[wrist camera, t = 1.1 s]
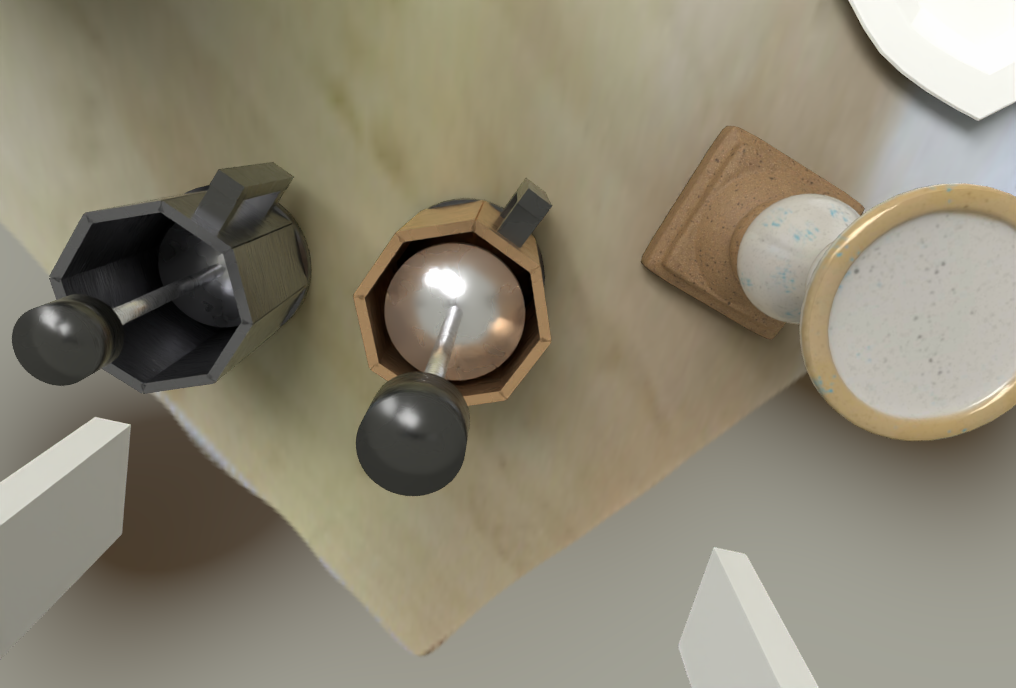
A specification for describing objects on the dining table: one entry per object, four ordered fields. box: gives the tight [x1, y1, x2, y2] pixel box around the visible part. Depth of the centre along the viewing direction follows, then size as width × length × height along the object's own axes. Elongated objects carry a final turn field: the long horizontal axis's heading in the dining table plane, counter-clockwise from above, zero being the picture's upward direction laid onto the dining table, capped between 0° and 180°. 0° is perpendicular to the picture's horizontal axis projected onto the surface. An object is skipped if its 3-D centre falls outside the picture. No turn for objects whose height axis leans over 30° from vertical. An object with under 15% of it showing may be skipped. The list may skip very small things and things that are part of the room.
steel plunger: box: [12, 223, 241, 386], centre depth 40 cm, size 8×8×19 cm
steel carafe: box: [49, 162, 311, 394], centre depth 45 cm, size 11×14×12 cm
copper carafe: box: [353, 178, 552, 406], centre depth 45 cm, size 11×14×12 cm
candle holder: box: [641, 126, 1016, 441], centre depth 38 cm, size 11×11×24 cm
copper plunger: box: [356, 242, 525, 496], centre depth 32 cm, size 8×8×19 cm
